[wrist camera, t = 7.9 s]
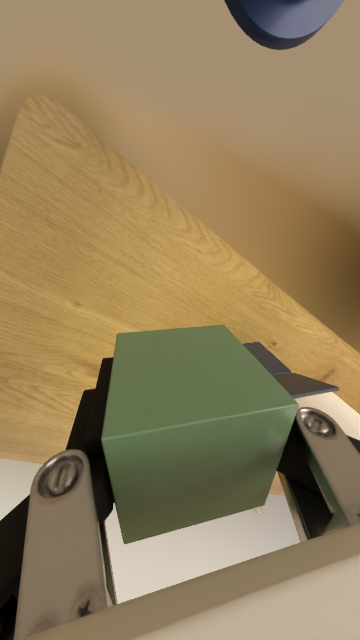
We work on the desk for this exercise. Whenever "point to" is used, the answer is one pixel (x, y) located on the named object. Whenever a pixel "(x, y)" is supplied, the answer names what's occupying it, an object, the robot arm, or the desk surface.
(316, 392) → the flap
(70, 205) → the desk surface
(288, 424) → the block
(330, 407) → the white rounded tall casing
